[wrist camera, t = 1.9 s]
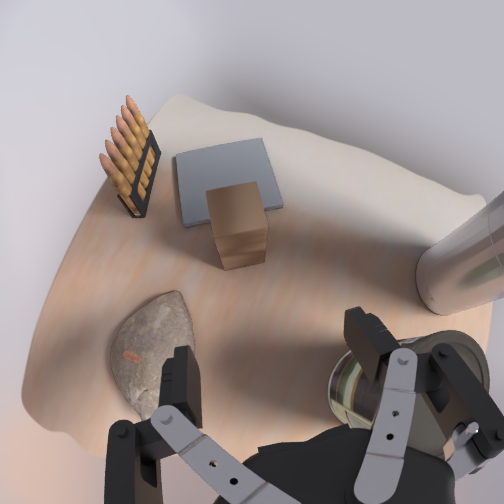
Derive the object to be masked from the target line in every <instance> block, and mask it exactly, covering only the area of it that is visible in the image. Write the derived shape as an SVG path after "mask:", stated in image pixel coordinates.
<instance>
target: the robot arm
mask: <svg viewBox="0 0 504 504" xmlns="http://www.w3.org/2000/svg"><path fill="white" fill-rule="evenodd" d="M416 283H417V288H418V291H419V294H420V297H421V298H422V300H423V302H424V303H425V305H426V306H427V307H428V308H429V309H430V310H432V311H433V312H434V313H437V314H439V315H450V314H453V313H457V312H460V311H464V310H467V309H470V308H474V307H477V306H480V305H483V304H486V303H489V302H492V301H494V300H497V299H500V298H503V297H504V191H503V192H502V193H501V194H499V195H498V196H497V197H496V198H495V199H494V200H493V201H491V202H490V203H489V204H488V205H487V206H485V207H484V208H483V209H482V210H480V211H479V212H478V213H477V214H475V215H474V216H473V217H472V218H470V219H469V220H468V221H466V222H465V223H464V224H462V225H461V226H460V227H459V228H457V229H456V230H455V231H453V232H452V233H451V234H449V235H448V236H446V237H445V238H444V239H442V240H441V241H439V242H438V243H437V244H435V245H434V246H432V247H431V248H430V249H428V250H427V251H425V252H424V253H423V255H422V256H421V257H420V259H419V261H418V264H417V268H416ZM344 338H345V341H346V343H347V345H348V346H349V348H350V350H351V351H352V353H353V355H354V356H355V358H356V360H357V361H358V363H359V365H360V366H361V368H362V370H363V371H364V373H365V375H366V376H367V378H368V380H369V381H370V383H371V385H372V386H375V385H377V384H380V386H381V387H382V388H381V391H380V395H379V399H378V403H377V407H376V410H375V414H374V417H373V421H372V424H371V427H370V429H365V428H350V427H349V424H348V423H346V424H343V425H340V426H338V427H334V428H331V429H328V430H326V431H324V432H322V433H321V434H319V435H317V436H315V437H313V438H311V439H310V440H308V441H305V442H282V443H276V444H272V445H267V446H262V447H258V452H259V453H257V454H254V455H253V456H251V457H249V458H248V459H246V460H245V461H244V462H243V463H242V464H241V463H240V462H239V461H238V460H236V459H235V458H234V457H233V456H231V455H230V454H229V453H228V452H227V451H225V450H224V449H223V448H222V447H221V446H219V445H218V444H217V443H216V442H215V441H214V440H212V439H211V438H210V437H209V436H208V435H206V434H205V435H204V434H203V433H202V432H201V431H199V430H198V429H199V428H202V409H201V383H200V371H199V367H198V364H197V361H196V359H195V357H194V354H193V352H192V349H191V347H190V345H185V346H178V347H175V348H174V357H173V358H167V359H166V361H165V362H164V364H163V366H162V373H161V375H162V376H161V383H160V392H159V403H158V408H157V409H156V410H155V411H154V412H153V413H152V415H151V417H150V418H149V419H147V420H144V421H141V422H138V423H136V424H133V423H132V422H130V421H128V420H119V421H117V422H115V423H114V424H113V425H112V426H111V427H110V429H109V435H108V444H107V455H106V470H105V490H104V504H163V496H162V483H161V466H160V459H162V458H165V457H168V456H171V455H173V454H176V453H177V454H178V455H179V456H180V457H181V458H182V459H183V460H184V461H185V462H186V463H187V464H188V465H189V466H190V467H191V468H192V469H193V470H194V471H195V472H196V473H197V474H198V475H199V476H200V477H201V478H202V479H203V480H204V481H205V482H206V483H207V484H209V485H210V486H211V487H212V488H213V489H214V490H215V491H216V492H217V493H219V494H220V495H219V496H218V498H217V499H216V500H215V502H214V503H213V504H456V503H455V496H454V487H455V482H456V481H458V480H459V479H461V478H463V477H464V476H466V475H467V474H474V473H476V472H478V471H479V470H480V469H482V468H483V467H484V466H485V465H487V464H488V463H489V462H490V461H491V460H493V459H494V458H495V457H496V456H497V455H498V454H499V453H500V452H502V451H503V450H504V416H503V414H502V413H501V411H500V410H499V408H498V407H497V405H496V404H495V402H494V401H493V400H492V398H491V397H490V395H489V394H488V392H487V391H486V390H485V388H484V387H483V385H482V384H481V383H480V381H479V380H478V379H477V377H476V376H475V375H474V373H473V372H472V371H471V369H470V368H469V367H468V365H467V364H466V363H465V361H464V360H463V359H462V358H461V356H460V355H459V354H458V353H457V351H456V350H455V349H454V348H453V347H452V346H451V345H449V344H446V343H439V344H436V345H435V346H434V347H433V348H432V351H431V352H428V353H421V354H415V353H414V352H413V351H412V350H410V349H407V348H402V347H401V346H400V344H399V343H398V342H397V340H396V339H395V338H394V337H393V335H392V334H391V333H390V332H389V330H387V328H386V327H385V325H383V323H382V322H381V320H380V319H379V318H378V317H376V316H375V315H373V314H371V313H368V314H366V313H365V312H364V311H363V310H362V308H361V307H359V306H358V307H355V308H352V309H348V310H346V311H345V319H344ZM418 393H420V394H421V395H422V397H423V399H424V401H425V402H426V404H427V406H428V407H429V409H430V411H431V413H432V414H433V416H434V418H435V420H436V422H437V423H438V425H439V427H440V429H441V431H442V432H443V434H444V436H445V438H446V441H445V443H444V447H443V450H444V454H445V460H443V459H441V458H439V457H436V456H433V455H431V454H428V453H425V452H423V451H420V450H418V449H415V448H413V447H410V446H408V445H407V441H408V436H409V431H410V426H411V421H412V415H413V410H414V403H415V397H416V394H418Z"/></svg>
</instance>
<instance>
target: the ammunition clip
mask: <svg viewBox="0 0 504 504" xmlns="http://www.w3.org/2000/svg"><path fill="white" fill-rule="evenodd" d="M126 105H127V107H125V106H124V105H122V106H121V113H122V118H123V119H122V118H121V117H120V116H116V123H117V128H118V130H117V129H115V128H114V127H111V136H112V139H113V142H114V144H115V145H114V144H113V143H112V142H110V141H109V140H105V146H106V150H107V153H108V155H109V157H110V158H111V160H110V159H109V158H108V157H106V156H105V155H104V154H100V156H99V158H100V162H101V165H102V167H103V169H104V171H105V172H106V174H107V176H108V177H109V179H110V182H111V184H112V185H113V187H114V188H115V190H116V191H117V192H118V196H117V197H118V198H119V199H120V201H121V202H122V204H123V205H124V206H125V208H126V209H127V211H128V212H129V213H130V215H131V216H132V218H145V216H146V211H147V207H148V202H149V198H150V194H151V190H152V186H153V181H154V177H155V174H156V170H157V166H158V162H159V159H160V155H161V151H160V149H159V147H158V144H157V142H156V140H155V138H154V135H153V133H152V131H151V130H149V129H148V127H147V125H146V122H145V120H144V118H143V116H142V115H141V113H140V111H139V110H138V108H137V105H136V104H135V102H134V101H133V99H132V98H131V97H130V96H128V95H127V96H126Z"/></svg>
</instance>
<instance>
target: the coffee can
mask: <svg viewBox="0 0 504 504" xmlns="http://www.w3.org/2000/svg"><path fill="white" fill-rule="evenodd" d="M397 342H398V343H399V344H400V346H401V347H402V348H407V349H410V350H412V351H413V352H414V353H415V354H421V353H428V352H431V351H432V348H433V347H434V346H435V345H436V344H439V343H446V344H449V345H451V346H452V347H453V348H454V349H455V350H456V351H457V353H458V354H459V355H460V356H461V358H462V359H463V360H464V361H465V363H466V364H467V365H468V367H469V368H470V369H471V371H472V372H473V373H474V375H475V376H476V377H477V379H478V380H479V381H480V383H481V384H482V385H483V387H484V388H485V390H486V391H487V392H488V394H489V388H490V387H489V386H490V377H489V369H488V364H487V360H486V357H485V354H484V352H483V350H482V349H481V347H480V346H479V344H478V343H477V342H476V341H475V340H474V339H473V338H472V337H470V336H469V335H467V334H465V333H463V332H460V331H456V330H447V331H440V332H436V333H433V334H430V335H428V336H421V337H415V338H409V339H401V340H397ZM381 388H382V387H381V386H380V384H377V385H375V386H372V385H371V383H370V381H369V380H368V378H367V376H366V375H365V373H364V371H363V370H362V368H361V366H360V365H359V363H358V361H357V360H356V358H355V356H354V355H353V353H352V351H351V350H350V351H348V352H347V353H346V354H345V355H344V356H343V357H342V358H341V359H340V360H339V361H338V363H337V364H336V365H335V367H334V369H333V371H332V373H331V376H330V379H329V383H328V401H329V405H330V407H331V410H332V412H333V413H334V415H335V416H336V417H337V418H338V419H339V420H340V421H341V422H342V423H344V424H346V423H348V424H349V427H350V428H365V429H370V427H371V424H372V421H373V417H374V414H375V410H376V407H377V403H378V399H379V395H380V391H381ZM445 441H446V438H445V436H444V434H443V432H442V431H441V429H440V427H439V425H438V423H437V422H436V420H435V418H434V416H433V414H432V413H431V411H430V409H429V407H428V406H427V404H426V402H425V401H424V399H423V397H422V395H421V394H420V393H418V394H416V397H415V403H414V410H413V415H412V421H411V426H410V431H409V436H408V441H407V445H408V446H410V447H413V448H415V449H418V450H420V451H423V452H425V453H428V454H431V455H433V456H436V457H439V458H441V459H443V460H445V454H444V450H443V447H444V443H445Z"/></svg>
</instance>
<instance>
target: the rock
mask: <svg viewBox="0 0 504 504" xmlns="http://www.w3.org/2000/svg"><path fill="white" fill-rule="evenodd" d="M185 345H190V347H191V349H192V352H193V354H194V357H195V342H194V333H193V329H192V320H191V317H190V313H189V311H188V309H187V307H186V304H185V303H184V300H183V297H182V295H181V293H180V292H178V291H173V292H170V293H168V294H164V295H161V296H159V297H158V298H156V299H154V300H152V301H151V302H150V303H149V304H147V305H146V306H144V307H143V308H141V309H140V310H138V311H137V312H136V313H135V314H133V315H132V316H131V317H129V318H128V319H127V321H126V322H125V323H124V325H123V326H122V327H121V329H120V331H119V332H118V334H117V336H116V338H115V340H114V341H113V345H112V348H111V364H112V371H113V375H114V378H115V380H116V384H117V386H118V387H119V389H120V390H121V391H122V393H123V394H124V396H125V398H126V400H127V401H128V402H129V403H130V405H131V406H132V407H134V409H135V410H136V412H137V413H138V414H139V415H140V417H141V420H142V421H144V420H147V419H149V418H150V417H151V415H152V413H153V412H154V411H155V410H156V409H157V408H158V403H159V392H160V383H161V376H162V375H161V373H162V366H163V364H164V362H165V361H166V359H167V358H173V357H174V348H175V347H178V346H185Z"/></svg>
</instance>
